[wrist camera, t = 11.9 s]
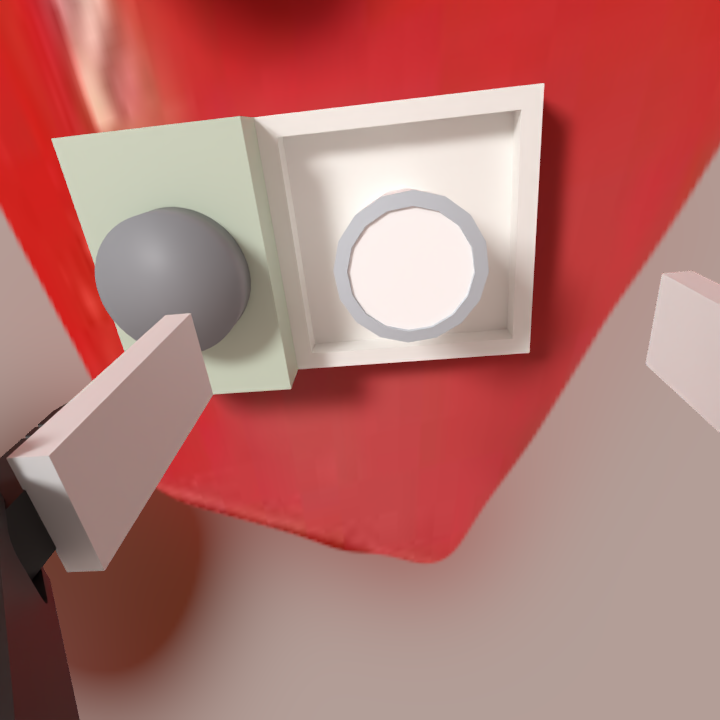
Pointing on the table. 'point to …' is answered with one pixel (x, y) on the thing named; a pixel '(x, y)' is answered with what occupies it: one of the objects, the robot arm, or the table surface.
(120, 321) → the knobbed tray panel
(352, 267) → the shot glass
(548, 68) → the table surface
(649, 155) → the table surface
